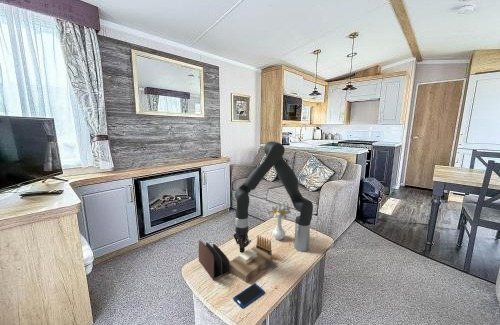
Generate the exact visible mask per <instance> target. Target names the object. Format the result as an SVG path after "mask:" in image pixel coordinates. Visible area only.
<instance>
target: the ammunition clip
mask: <svg viewBox="0 0 500 325" xmlns="http://www.w3.org/2000/svg"><path fill="white" fill-rule="evenodd" d="M255 247H256V248H258V249H260V250H262V251H264V252H266V253H268V254H269V255H271V256H272V257H273V255H272V254H273V253H272V252H273V251H272V240H271V239H269V238H266V237H264V236H261V235H260V236H259V234H257V239H256V246H255Z"/></svg>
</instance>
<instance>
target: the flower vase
mask: <svg viewBox="0 0 500 325" xmlns="http://www.w3.org/2000/svg"><path fill="white" fill-rule="evenodd" d="M285 204H286V207H285ZM271 209H272V210H269V209H267V207H265V209H264V211H265V212H266V213H267V214H266V216H267V217H268V218H270V215H272V218H276V226H275V228H274V229H273V230H272V232H271V234H272V236H273V237H274V239H275V240H277V241H281V240H283V239H284V238H285V237H286V230H284V228H283V226H282V218H284V219H285V220H286V219H287V218H288V217H287V215H288V214H290V215H291V214H292V211H291V206H289V204H288V203H285V202H284V203H280V202H277V204H275V206H273V205H272V206H271Z"/></svg>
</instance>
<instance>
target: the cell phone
mask: <svg viewBox="0 0 500 325" xmlns="http://www.w3.org/2000/svg"><path fill="white" fill-rule="evenodd" d="M265 293H266V292H265V290H264V289H263V288H262V287H261V286H259V285H258V284H257V283H253V284H251V285H250V286H248V287H246V288H245V289H244V290H242V291H241V292H239V293H237V294H236V295H235V296H233V297H232V299H233V301H234V302H235V303H236V304H237V305H238V306H239V307H240V308H241V309H245V308H247V307H248V306H249V305H251V304H252V303H253V302H254V301H257V300H258V299H259V298H260V297H262V296H263V295H264V294H265Z"/></svg>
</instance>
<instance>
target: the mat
mask: <svg viewBox="0 0 500 325" xmlns="http://www.w3.org/2000/svg"><path fill="white" fill-rule="evenodd" d="M278 268H279V266H277V265H276V264H274V263H273V262H272V263H270V264H269V265H268V266H266V267H265V268H264V269H263V270H262V271H265V270H268V269H273V270H274V269H278Z"/></svg>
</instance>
